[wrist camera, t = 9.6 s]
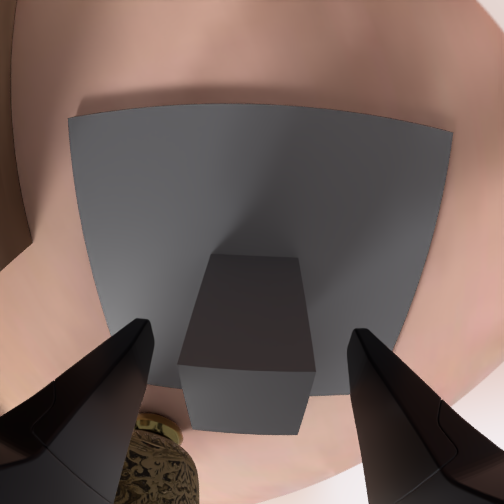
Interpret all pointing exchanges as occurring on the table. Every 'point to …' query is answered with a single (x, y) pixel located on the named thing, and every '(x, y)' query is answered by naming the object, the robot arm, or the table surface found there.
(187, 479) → the cup
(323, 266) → the lid
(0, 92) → the walnut box
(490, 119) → the table surface
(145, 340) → the robot arm
